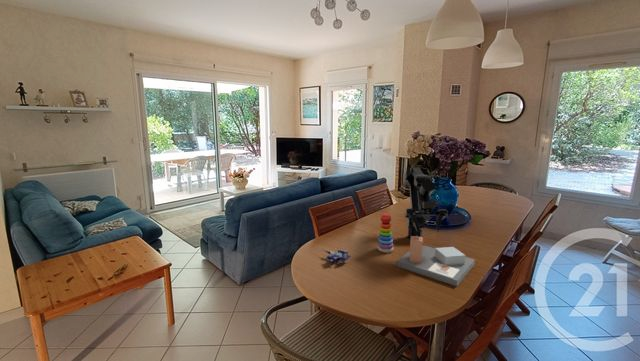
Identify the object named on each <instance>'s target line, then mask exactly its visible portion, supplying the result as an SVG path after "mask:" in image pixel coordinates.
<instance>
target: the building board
mask: <svg viewBox="0 0 640 361" xmlns="http://www.w3.org/2000/svg"><path fill="white" fill-rule="evenodd" d="M435 248H436V247H431V246H427V245H424V244H423V247H422V262H421V263H418V262H410V250H409V251H407V252H406V253H404V255H402V256H400V257H399V258H398V259H396V260H395V266H396V267H398V268H401V269H404V270H407V271H410V272H413V273H416V274H419V275H422V276H424V277H427V278H430V279H434V280H436V281H440V282H443V283H444V284H445V283H446V284H448V285H450V286H454V287H458V285H459V284H460V283H462V281H463V280H464V278H465V277H466V276H467V274H468V273H469V272H470V271H471V270H472V269H473V267H474V266H475V262H476V259H473V258H472V257H471V258H470V257H468V256H465V264H457V265H444V264H443V263H442V262H441V261H440V260H438V259H437V258H436V257H435Z"/></svg>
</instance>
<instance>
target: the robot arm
mask: <svg viewBox="0 0 640 361" xmlns="http://www.w3.org/2000/svg"><path fill="white" fill-rule="evenodd" d="M404 180H405V184H406V186H408V188H409V189H408V190H409V198H410V208H407V209H405V211H404V218H407V220H406V226H407V228H408V231H407V232H408V233H407V235H406V238H408V239H411V236H419V237H422V238H423V230H422V229H425V225H426V222H427V221H426V217H425V216H435V217H436V218H435V225H436V226H435V227H436V231H437V232H439V230H440V227H441V224H442V221H443V220H444V219H446V218H447V217H448V216H449V211H448V210H447V209H446V208H445V209H444V208H438V209H437V210H436V211H434V209H436V208H437V207H439V206H440V203H439V200H438V199H433V200H432V199H431V195H432V193H433V192H434V190H435V189H436V184H435V183H434V182H433V180H432V178H431V176H430V175H428V174H424V173H423V171H422V170H421V167H419V166H411V167H410V168H409V169H408V170H406V171H405V174H404Z"/></svg>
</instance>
